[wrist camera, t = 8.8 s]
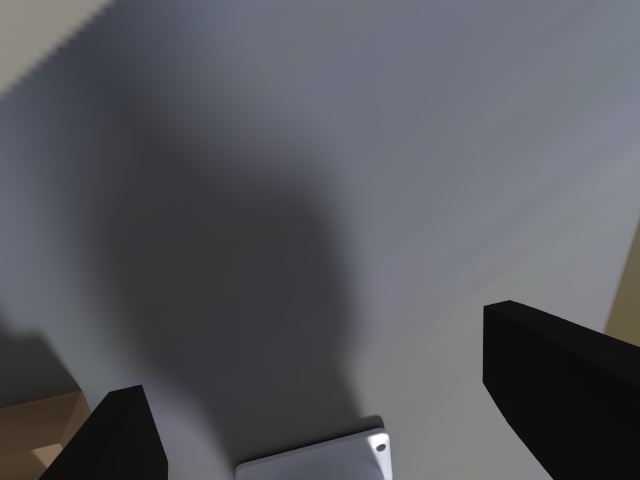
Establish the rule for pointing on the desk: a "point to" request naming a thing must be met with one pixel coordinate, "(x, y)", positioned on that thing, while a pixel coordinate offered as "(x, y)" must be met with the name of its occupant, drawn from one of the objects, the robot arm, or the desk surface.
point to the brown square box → (38, 433)
